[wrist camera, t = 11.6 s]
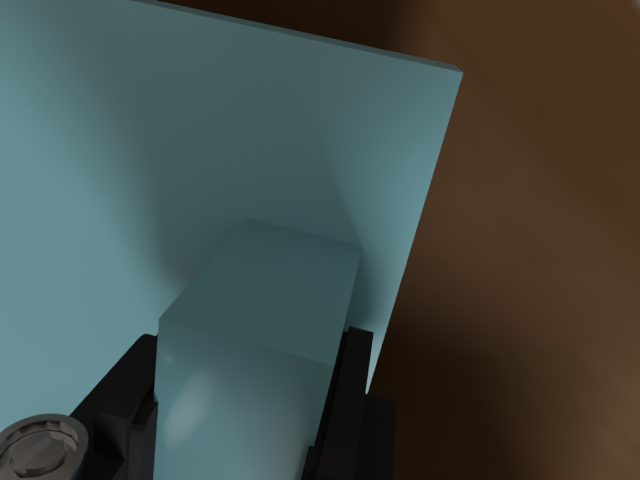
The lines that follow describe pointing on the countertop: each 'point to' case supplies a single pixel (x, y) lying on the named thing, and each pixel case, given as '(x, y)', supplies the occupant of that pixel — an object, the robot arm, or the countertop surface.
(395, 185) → the lid
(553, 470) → the countertop surface
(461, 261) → the countertop surface
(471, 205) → the countertop surface
